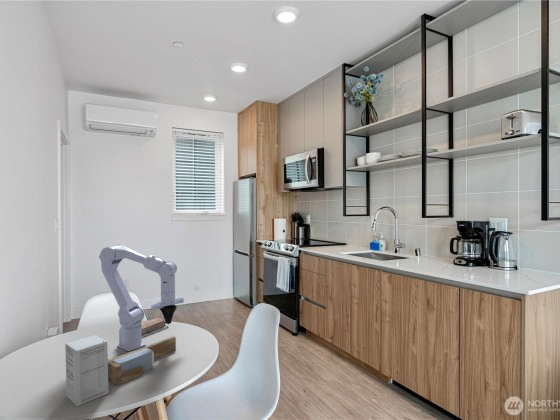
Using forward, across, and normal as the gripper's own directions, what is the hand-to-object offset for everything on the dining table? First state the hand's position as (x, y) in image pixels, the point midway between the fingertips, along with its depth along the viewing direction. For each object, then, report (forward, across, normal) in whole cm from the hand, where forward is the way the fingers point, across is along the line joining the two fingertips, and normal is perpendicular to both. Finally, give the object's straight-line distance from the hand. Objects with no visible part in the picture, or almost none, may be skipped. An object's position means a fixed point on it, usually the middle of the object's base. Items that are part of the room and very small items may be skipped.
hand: (168, 323), depth 142 cm
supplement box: (+11, -37, -10) cm, 40 cm away
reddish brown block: (+11, +6, +25) cm, 28 cm away
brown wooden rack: (+10, -14, -7) cm, 19 cm away
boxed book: (+11, -20, -8) cm, 24 cm away
